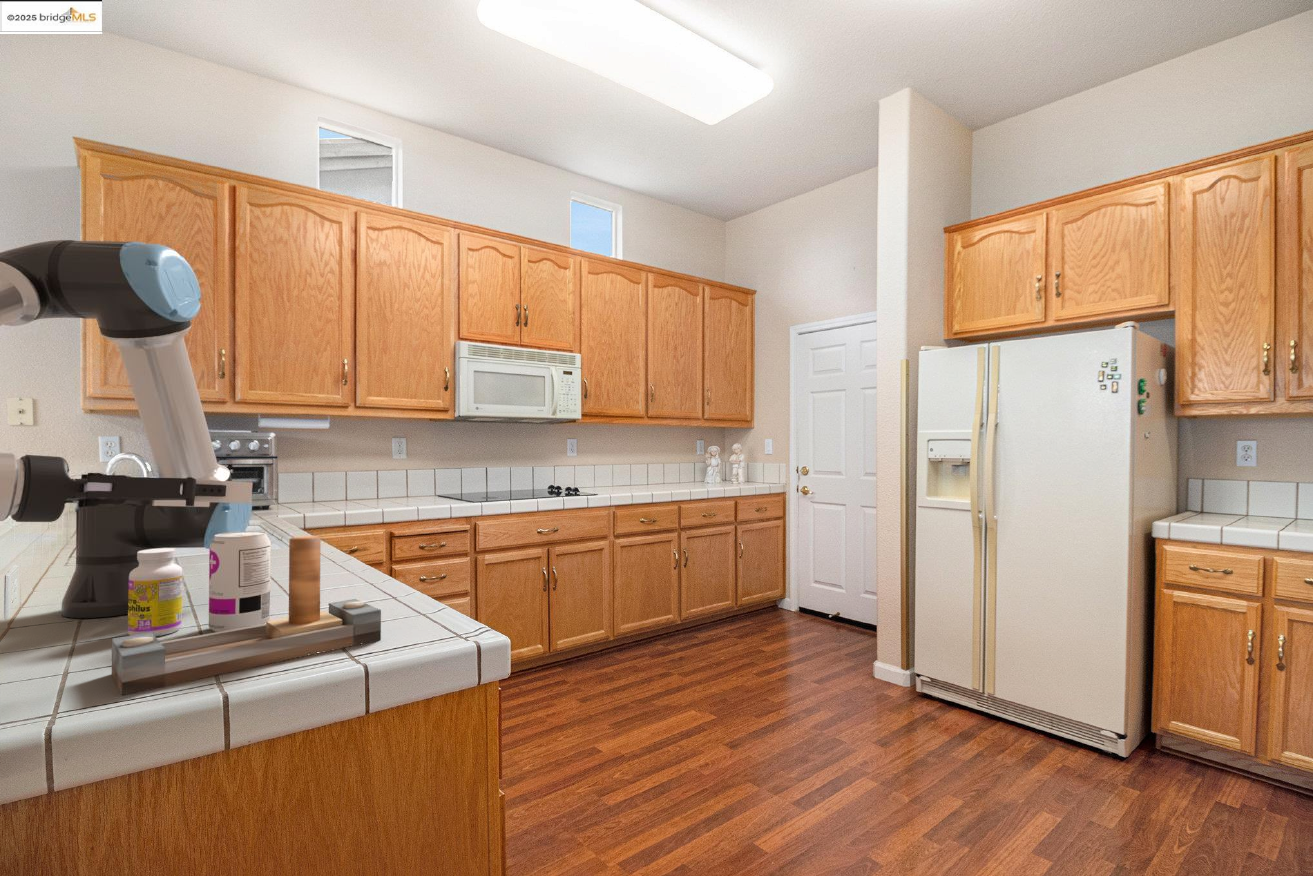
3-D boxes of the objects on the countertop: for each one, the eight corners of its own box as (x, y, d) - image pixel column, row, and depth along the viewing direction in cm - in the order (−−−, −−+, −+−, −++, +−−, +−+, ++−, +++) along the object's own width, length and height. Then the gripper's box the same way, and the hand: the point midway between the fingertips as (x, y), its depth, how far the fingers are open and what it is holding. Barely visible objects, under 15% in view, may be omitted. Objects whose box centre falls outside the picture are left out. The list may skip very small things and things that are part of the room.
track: (111, 674, 82) (112, 635, 82) (354, 627, 103) (355, 596, 103) (122, 695, 75) (122, 653, 75) (380, 640, 96) (380, 607, 96)
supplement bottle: (117, 636, 98) (118, 552, 98) (164, 625, 104) (165, 546, 105) (145, 641, 96) (146, 554, 96) (191, 629, 102) (192, 548, 102)
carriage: (266, 635, 93) (267, 538, 93) (325, 624, 99) (325, 533, 99) (281, 645, 88) (281, 543, 88) (342, 633, 94) (342, 537, 94)
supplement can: (205, 637, 98) (206, 538, 98) (213, 624, 105) (214, 532, 105) (267, 630, 101) (268, 535, 101) (271, 618, 109) (271, 529, 109)
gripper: (-13, 524, 78) (191, 524, 95) (37, 519, 64) (268, 520, 80) (-5, 462, 79) (196, 473, 96) (47, 444, 65) (272, 460, 82)
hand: (229, 495), depth 88 cm, fingers open, 13 cm apart
